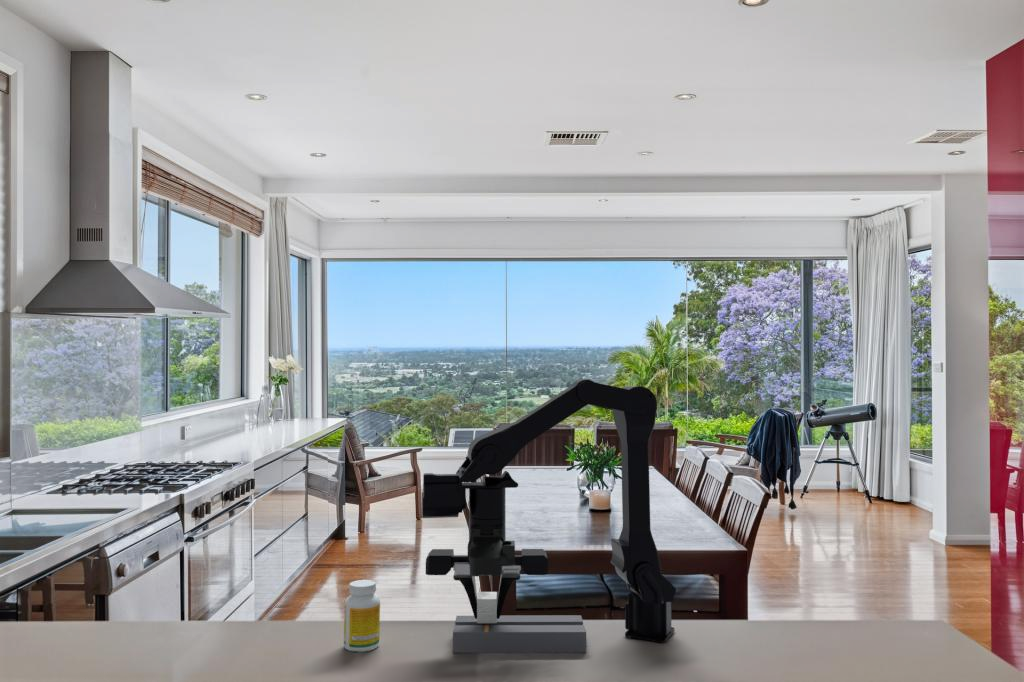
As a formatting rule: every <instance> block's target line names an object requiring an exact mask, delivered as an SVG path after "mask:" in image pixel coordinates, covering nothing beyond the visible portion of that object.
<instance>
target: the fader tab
mask: <svg viewBox="0 0 1024 682" xmlns="http://www.w3.org/2000/svg"><path fill="white" fill-rule="evenodd" d="M497 601H498V591H478V592H477V623H482V625H492V623H497Z"/></svg>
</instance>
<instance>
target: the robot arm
mask: <svg viewBox="0 0 1024 682" xmlns="http://www.w3.org/2000/svg"><path fill="white" fill-rule="evenodd" d="M586 406H593V407H597V408H601V409H605V410H608V411H612V415H613V422H614V426H615V428H616V431H617V434H618V437H619V440H620V449H621V450H620V453H621V454H620V455H621V463H620V465H621V497H622V498H621V500H622V501H621V502H622V503H621V504H622V506H621V507H622V509H621V510H622V513H621V514H622V529H621V532H620V535H619V538H613V537H612V538H610V545H611V551H612V555H611V559H610V563H611V564H612V565H613V566H614V571H615V572H616V574H617V575H618V576H619V577H620V578H621V579H622V580H623V581H624V582H625V584H626V587H627V589H628V590H630V591H631V592H630V593H628V595H627V598H628V599H627V602H626V603H625V604H624V615H625V616H624V618H625V619H624V623H625V625H624V627H625V629H626V630H627V631H626V632H625V633H624V636H625V637H626V638H634V639H639V640H645V641H650V642H651V641H652V642H658V643H666V641H668V640H669V638H670V637H671V636H672V635H673V633H674V632H675V627H672V602H673V601H674V598H675V596H676V592H677V588H676V587H675V586H674V585H673V584H672V583H671V582H670V581H669V580H668V579H667V578H666V577H665V576H664V575H663V574H662V567H661V562H660V556H659V551H658V549H657V545H656V543H655V540H654V537H653V535H652V529H651V499H650V498H651V496H650V494H651V493H650V453H649V452H650V450H649V449H650V448H649V447H650V446H649V443H650V439H651V436H652V433H653V430H654V429H655V423H656V417H657V412H658V411H657V410H658V399H657V397H656V394H655V393H653V392H652V390H650V388H647V387H645V386H641V385H626V386H622V387H618V386H614V385H608V384H605V383H599V382H596V381H593V380H592V379H578V380H575V381H574V382H573V383H572V384H570V386H568V387H567V388H565V389H564V390H562V391H560V392H559V393H558V394H556V395H554V396H552V397H551V398H550V399H548V400H547V401H545V402H543V403H542V404H540V405H539V406H538V407H536V408H534V409H533V410H530V412H528V413H527V414H525V415H523V416H522V417H521V418H519V419H517V420H515V421H513V422H511V423H508V424H507V425H503V426H501V427H497V428H494V429H493V430H490V431H488V432H485V433H483V434H480V435H478V436H476V437H475V438H474V439H473V440H471V441H470V443H469V445H468V449H467V457H466V459H465V460H464V461H463V463H462V464H461V465H460V466H459V467H458V469H457V471H456V472H455V473H442V474H440V473H438V474H437V473H433V472H431V473H430V472H429V473H425V472H424V474H422V475H423V478H422V479H423V480H422V492H421V519H438V518H439V519H441V518H442V519H446V518H458V517H459V515H460V514H462V513H463V512H464V511H466V505H467V504H466V503H467V501H466V500H467V499H466V498H467V493H466V490H467V489H468V494H469V495H468V498H469V499H468V502H469V503H468V504H469V505H468V543H467V554H464V555H463V554H462V555H459V554H456V555H455V553H454V552H455V551H454V548H444V549H443V548H440V549H439V548H438V549H437V548H433V549H431V550H430V551H429V552H428V554H427V556H426V559H425V575H427V576H447V575H448V573H449V572H450V571H452V569H453V571H454V574H453V580H454V581H459V582H460V583H461V585H462V586H463V588H464V591H465V592H466V595H467V598H468V601H469V603H470V606H471V607H470V608H471V610H472V613H473V616H474V617H475V619H477V596H478V592H477V583H476V577H480V576H492V577H499V576H500V579H499V587H498V592H497V619H499V618H500V616H502V615H501V614H502V611H503V608H504V604H505V601H506V597H507V596H508V595H507V594H508V592H509V590H510V588H511V587H512V584H513V582H514V581H519V580H521V571H523V572H524V573H525V574H526V575H527V576H546V575H549V559H548V555H547V552H546V550H544V548H522V549H521V554H518V555H517V554H516V541H515V540H506V537H507V536H506V534H507V533H506V532H507V531H506V489H509V488H510V489H511V488H512V489H513V488H514V489H515V488H518V487H519V483H518V482H517V481H516V480H515V479H513V477H512V476H511V475H510V473H509V471H507V470H504V471H503V473H502V474H501V475H497V476H496V475H495V474H498V473H499V472H501V471H502V470H503V469H504V468H505V467H507V466H508V465H509V464H510V463H511V462H512V461H513V460H514V459H515V458H516V457H517V456H518V455H519V453H521V451H522V450H523V449H524V448H525V447H526V446H527V445H529V443H531V442H532V441H534V440H535V439H536V438H539V437H540V436H541V435H543V434H544V433H546V432H548V431H550V430H551V429H552V428H554V427H556V426H557V425H559V424H560V423H562V422H563V421H565V420H566V419H568V418H569V417H571V416H572V415H574V414H576V413H577V412H579V411H580V410H581V409H583V408H584V407H586ZM484 475H488V476H484ZM480 478H481V479H482V480H481V481H478V482H477V480H479V479H480Z"/></svg>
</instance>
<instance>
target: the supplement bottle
mask: <svg viewBox="0 0 1024 682" xmlns="http://www.w3.org/2000/svg"><path fill="white" fill-rule="evenodd" d="M376 591H377V583H376V581H375V580H373V579H372V580H371V579H359V580H358V579H357V580H354V581H351V582H350V583H349V587H348V592H349V595H348V597H346V599H345V600H344V611H343V612H344V615H343V619H344V622H343V647H344V648H345V650H346V651H349V652H358V653H365V652H369V651H372V650H374V649H376V648H377V647H379V645H380V634H381V633H380V626H381V625H380V624H381V622H380V621H381V620H380V619H381V618H380V615H381V600H380V597H379V596H378V595H377V594H375V593H376Z"/></svg>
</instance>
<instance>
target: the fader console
mask: <svg viewBox="0 0 1024 682" xmlns="http://www.w3.org/2000/svg"><path fill="white" fill-rule="evenodd" d="M454 624H455V625H453V626H454V627H453V629H452V653H453V654H455V653H456V654H457V653H459V654H461V653H463V654H464V653H466V654H479V653H480V654H482V653H483V654H485V653H487V654H489V653H490V654H492V653H494V654H495V653H496V654H497V653H498V654H502V653H503V654H504V653H506V654H507V653H509V654H510V653H513V654H515V653H519V654H520V653H521V654H522V653H534V654H535V653H540V654H541V653H548V654H549V653H556V654H557V653H560V654H561V653H587V631H586V627H585V625H584V620H583V617H582V615H577V614H574V615H573V614H569V615H567V614H566V615H563V614H562V615H560V614H557V615H555V614H553V615H551V614H550V615H548V614H547V615H544V614H543V615H534V614H533V615H532V614H531V615H526V614H525V615H520V614H519V615H500V618H499V619H497V623H492V625H482V623H477V619H475V617H474V615H456V617H455V622H454Z"/></svg>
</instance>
